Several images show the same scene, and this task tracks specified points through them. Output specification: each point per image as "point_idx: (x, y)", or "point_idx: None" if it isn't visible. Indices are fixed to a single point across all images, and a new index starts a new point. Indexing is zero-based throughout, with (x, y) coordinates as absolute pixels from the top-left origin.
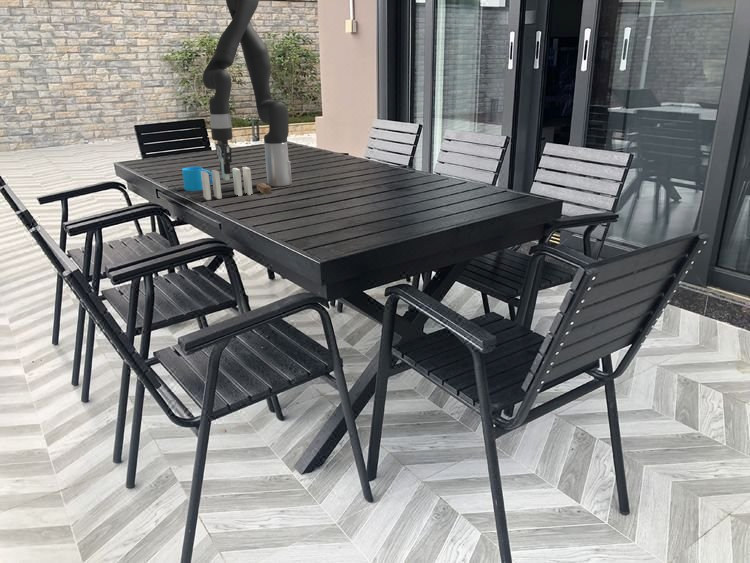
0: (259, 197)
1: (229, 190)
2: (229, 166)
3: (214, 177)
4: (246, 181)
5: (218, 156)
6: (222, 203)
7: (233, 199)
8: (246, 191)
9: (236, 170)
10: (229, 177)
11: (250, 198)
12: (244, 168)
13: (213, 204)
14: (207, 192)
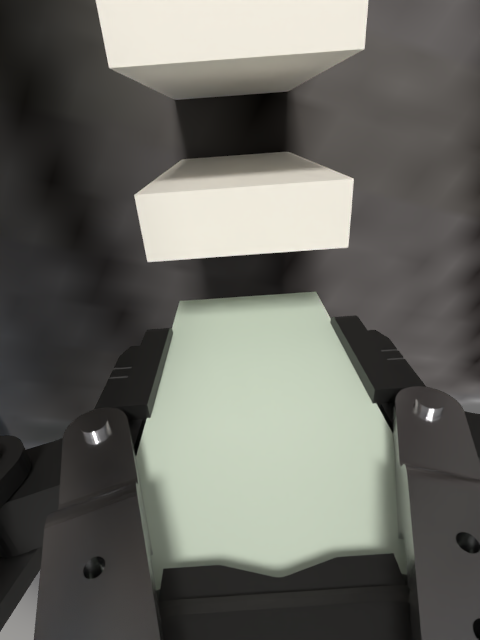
0: (440, 14)
1: (37, 205)
2: (387, 367)
3: None
4: (273, 80)
5: (41, 558)
6: (427, 323)
7: (367, 243)
8: (234, 94)
9: (348, 238)
10: (319, 302)
11: (421, 111)
12: (246, 58)
13: (415, 367)
14: None
